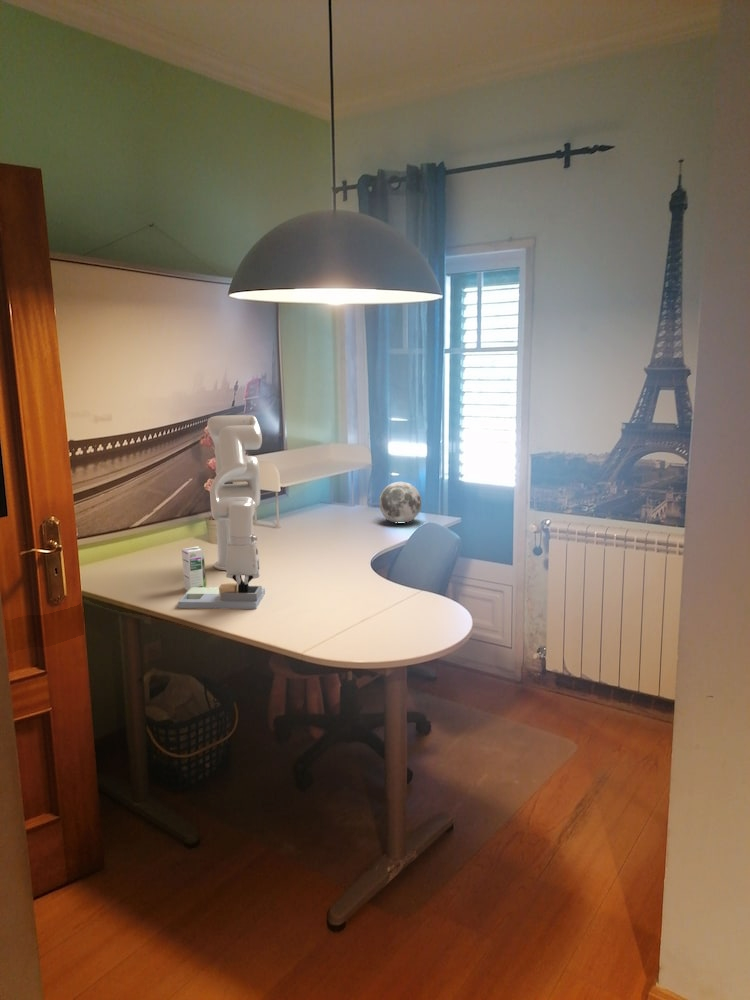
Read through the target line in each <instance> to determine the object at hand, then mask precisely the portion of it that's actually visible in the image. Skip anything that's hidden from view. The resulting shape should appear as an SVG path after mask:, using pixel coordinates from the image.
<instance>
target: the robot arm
mask: <svg viewBox="0 0 750 1000" xmlns="http://www.w3.org/2000/svg"><path fill="white" fill-rule="evenodd" d="M206 425H207V430H208V433H209V436H210V438H211V439H212V442H213V445H214V453H215V455H214V456H215V473H216V476H215V477H214V478H213V479H212V482H211V485H210V489H209V497H210V498H209V499H210V500H209V501H210V511H211V515H212V518H213V519H214V520H215V521H216V541H217V561H215V562H214V566H213V567H214V568H215V569H217V570H221V571H226V575H225V577H226V578H228V579H233V580H234V581H235V583H237V584H238V591H239V593H248V592H249V586H250V585H249V584H250V582H251V581H252V580H254V579H258V578H260V575H261V574H260V557H259V556H260V555H259V551H258V546H257V543H256V542H257V541H259V537H258V536H256V535H255V534H254V521H253V520H254V519H253V518H254V515H255V514H256V509H257V507H259V506H260V503H261V471H260V470H261V469H260V463H259V460H258V458H257V457H256V456H253V455H246V451H247V450H248V451H253V450H254V451H255V450H256V451H257V450H260V449H261V447H262V444H263V435H262V430H261V427H260V424H259V421H258V419H257V417H256V416H254V415H253V414H251V415H250V414H249V415H248V414H240V415H232V414H231V415H214V416H211V417H210V418H208V420H207V424H206ZM240 482H241V483H240ZM243 482H245V483H243ZM225 483H227V484H225ZM242 576H244V579H243V577H242ZM243 580H244V581H243Z"/></svg>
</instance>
